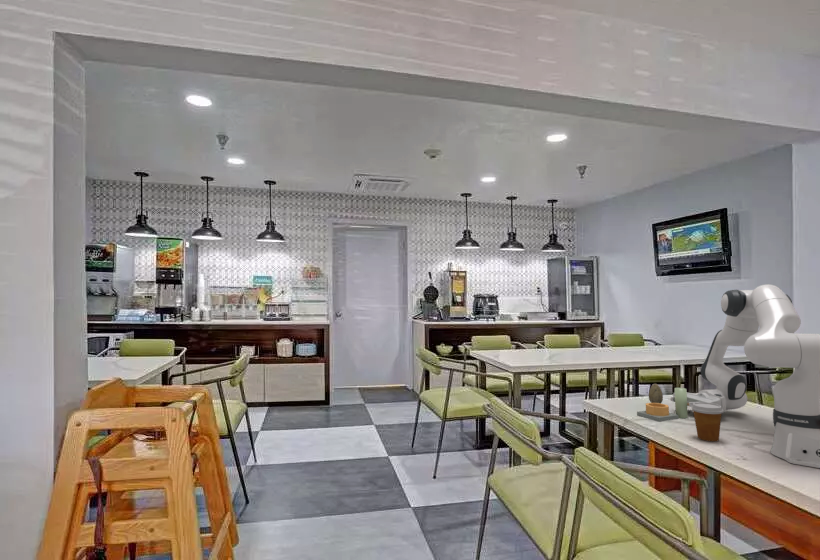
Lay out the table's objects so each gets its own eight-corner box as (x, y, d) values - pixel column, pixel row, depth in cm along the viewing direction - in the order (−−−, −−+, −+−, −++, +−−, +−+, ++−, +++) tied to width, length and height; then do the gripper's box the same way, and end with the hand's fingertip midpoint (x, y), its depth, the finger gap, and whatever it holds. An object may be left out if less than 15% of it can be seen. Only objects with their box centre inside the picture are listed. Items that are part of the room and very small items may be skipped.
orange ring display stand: (678, 418, 187) (678, 406, 187) (659, 421, 183) (658, 409, 183) (656, 412, 197) (655, 401, 197) (637, 415, 193) (636, 403, 194)
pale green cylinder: (689, 417, 189) (688, 388, 190) (685, 419, 186) (684, 390, 187) (677, 415, 192) (676, 387, 193) (674, 417, 190) (672, 388, 190)
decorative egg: (646, 404, 213) (645, 383, 213) (654, 402, 215) (653, 382, 215) (657, 406, 207) (656, 385, 208) (666, 405, 210) (665, 384, 210)
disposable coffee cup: (697, 441, 157) (696, 407, 158) (689, 434, 166) (687, 401, 167) (728, 444, 154) (727, 409, 155) (718, 435, 163) (717, 402, 164)
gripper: (689, 388, 202) (662, 389, 200) (728, 397, 182) (698, 399, 180) (689, 402, 202) (662, 403, 200) (728, 413, 182) (699, 415, 179)
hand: (679, 401), depth 189 cm, fingers open, 8 cm apart
